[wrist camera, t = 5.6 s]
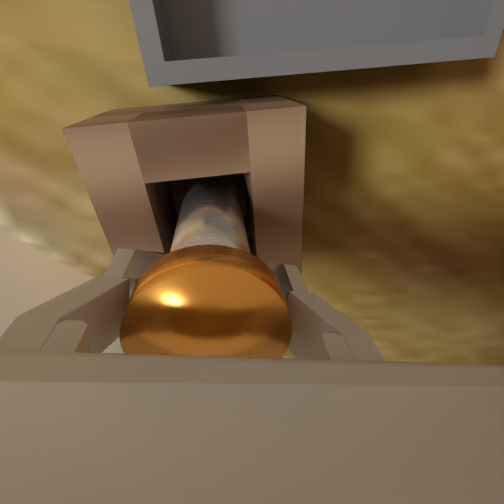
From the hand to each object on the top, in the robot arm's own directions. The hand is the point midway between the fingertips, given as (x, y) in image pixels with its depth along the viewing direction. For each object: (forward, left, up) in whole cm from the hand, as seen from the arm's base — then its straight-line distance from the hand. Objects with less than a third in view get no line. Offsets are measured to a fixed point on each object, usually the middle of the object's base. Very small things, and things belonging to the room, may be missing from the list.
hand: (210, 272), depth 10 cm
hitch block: (0, 0, -10) cm, 10 cm away
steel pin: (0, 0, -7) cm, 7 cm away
